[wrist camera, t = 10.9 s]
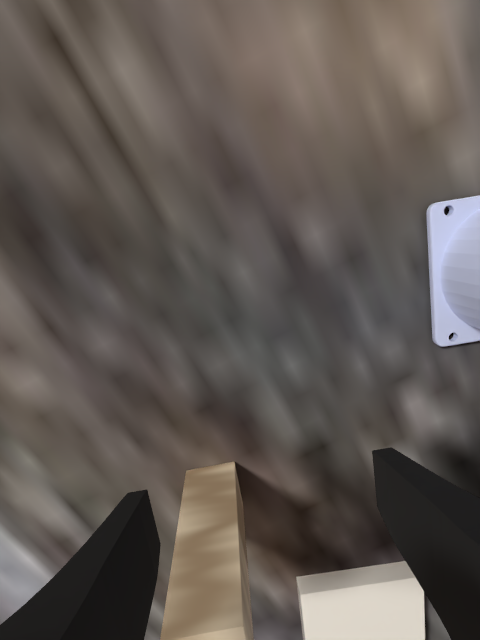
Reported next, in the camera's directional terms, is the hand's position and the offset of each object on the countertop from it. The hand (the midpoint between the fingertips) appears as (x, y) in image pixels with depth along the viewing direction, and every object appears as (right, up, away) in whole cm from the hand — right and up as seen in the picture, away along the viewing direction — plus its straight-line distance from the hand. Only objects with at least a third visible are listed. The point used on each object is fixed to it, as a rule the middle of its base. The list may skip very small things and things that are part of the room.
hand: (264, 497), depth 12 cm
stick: (-2, -5, +12) cm, 13 cm away
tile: (+7, -11, +13) cm, 19 cm away
